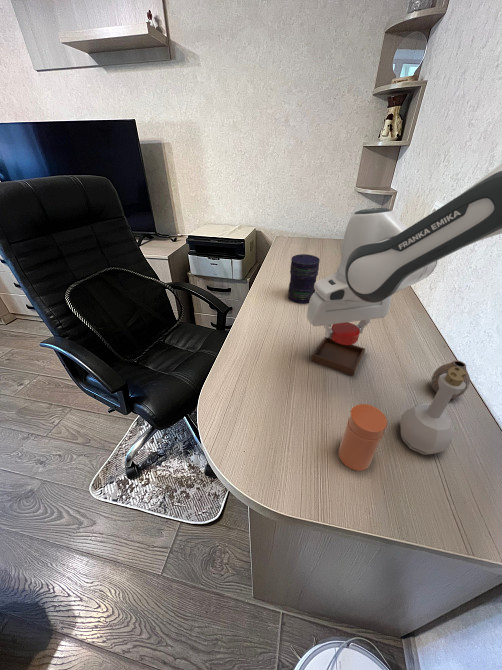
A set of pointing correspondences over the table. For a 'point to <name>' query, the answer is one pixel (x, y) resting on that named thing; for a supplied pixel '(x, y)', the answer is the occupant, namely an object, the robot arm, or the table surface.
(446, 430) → the potion bottle
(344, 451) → the jar
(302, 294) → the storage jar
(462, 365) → the vase
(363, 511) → the table surface
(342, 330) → the jar lid
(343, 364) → the tray
